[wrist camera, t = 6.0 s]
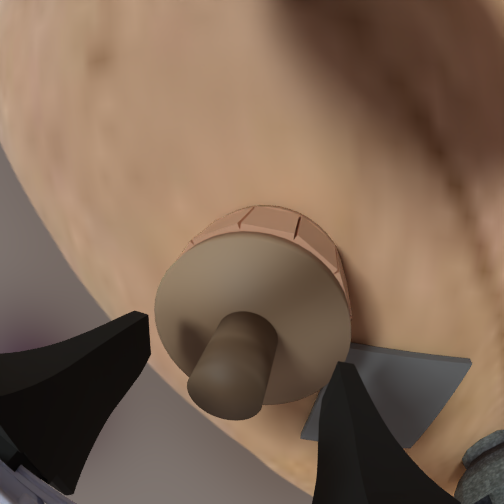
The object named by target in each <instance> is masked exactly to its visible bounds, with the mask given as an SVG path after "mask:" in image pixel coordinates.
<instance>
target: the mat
mask: <svg viewBox="0 0 504 504" xmlns="http://www.w3.org/2000/svg"><path fill="white" fill-rule="evenodd" d="M345 362H346V363H352V364H354V365H355V366H356V368H357V371H358V373H359V375H360V377H361V379H362V381H363V383H364V385H365V387H366V389H367V391H368V393H369V395H370V397H371V399H372V401H373V403H374V405H375V407H376V408H377V410H378V412H379V414H380V416H381V417H382V419H383V421H384V422H385V424H386V426H387V427H388V429H389V430H390V432H391V433H392V435H393V436H394V438H395V439H396V440H397V442H398V443H399V444H400V446H401V447H402V448H411V447H412V446H413V445H414V444H415V442H416V441H417V440H418V439H419V438H420V437H421V435H422V434H423V433H424V432H425V430H426V429H427V428H428V427H429V426H430V424H431V423H432V422H433V420H434V419H435V418H436V417H437V415H438V414H439V413H440V411H441V410H442V409H443V407H444V406H445V404H446V403H447V402H448V400H449V399H450V397H451V396H452V395H453V393H454V392H455V390H456V389H457V387H458V386H459V384H460V383H461V381H462V380H463V378H464V377H465V375H466V373H467V372H468V370H469V369H470V367H471V365H472V362H471V360H470V359H468V358H458V357H449V356H440V355H432V354H424V353H416V352H409V351H401V350H395V349H388V348H381V347H375V346H369V345H363V344H357V343H351V342H350V348H349V352H348V354H347V357H346V360H345ZM328 384H329V383H328ZM328 384H326V385H325V386H324V387H322V388H321V390H320V392H319V394H318V397H317V399H316V401H315V404H314V406H313V408H312V410H311V413H310V415H309V417H308V419H307V421H306V423H305V426H304V428H303V430H302V432H301V437H300V439H306V440H313V441H318V433H319V417H320V409H321V403H322V397H323V395H324V393H325V391H326V388H327V386H328Z"/></svg>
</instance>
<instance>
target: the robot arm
mask: <svg viewBox="0 0 504 504" xmlns="http://www.w3.org/2000/svg"><path fill="white" fill-rule="evenodd" d="M150 355H151V349H150V335H149V318H148V315H147V314H144V313H141V312H138V311H133V312H130V313H128V314H126V315H123V316H121V317H119V318H117V319H115V320H113V321H110V322H108V323H106V324H104V325H102V326H100V327H97V328H95V329H93V330H91V331H88V332H86V333H83V334H81V335H78V336H76V337H73V338H71V339H68V340H65V341H62V342H59V343H56V344H52V345H49V346H45V347H41V348H37V349H32V350H27V351H21V352H13V353H4V354H0V504H44V502H45V503H46V504H76V503H75V502H73V501H71V500H70V499H68V498H66V497H65V496H63V495H62V494H60V493H59V492H57V491H56V490H55V489H57V490H58V491H60V492H61V493H63V494H64V495H71V494H74V491H75V488H76V485H77V482H78V480H79V477H80V474H81V472H82V469H83V467H84V464H85V462H86V460H87V458H88V455H89V453H90V451H91V449H92V447H93V445H94V443H95V441H96V439H97V437H98V435H99V433H100V431H101V430H102V428H103V426H104V424H105V423H106V421H107V419H108V418H109V416H110V414H111V413H112V412H113V410H114V409H115V407H116V406H117V405H118V403H119V402H120V401H121V399H122V398H123V397H124V395H125V394H126V393H127V391H128V390H129V389H130V387H131V386H132V385H133V383H134V382H135V380H136V379H137V378H138V377H139V375H140V374H141V372H142V370H143V368H144V367H145V365H146V363H147V361H148V359H149V357H150ZM41 479H42V480H43V481H44V482H43V481H42V480H41ZM45 482H46V483H47V484H50V485H51V486H52V487H54V488H55V489H53V488H52V487H50V486H49V485H47V484H46V483H45ZM312 504H461V502H460V501H458V500H457V499H455V498H454V497H453V496H451V495H450V494H449V493H447V492H446V491H445V490H443V489H442V488H441V487H439V486H438V485H437V484H436V483H435V482H434V481H433V480H432V479H430V478H429V477H428V476H427V475H426V474H425V473H424V472H423V471H422V470H421V469H420V468H419V467H418V466H417V465H416V463H415V462H414V461H413V460H412V459H411V458H410V457H409V456H408V454H407V453H406V452H405V451H404V450H403V448H402V447H401V446H400V444H399V443H398V442H397V440H396V439H395V438H394V436H393V435H392V433H391V432H390V430H389V429H388V427H387V426H386V424H385V422H384V421H383V419H382V417H381V416H380V414H379V412H378V410H377V408H376V407H375V405H374V403H373V401H372V399H371V397H370V395H369V393H368V391H367V389H366V387H365V385H364V383H363V381H362V379H361V377H360V375H359V373H358V371H357V368H356V366H355V365H354V364H352V363H346V362H340V361H338V362H337V364H336V367H335V369H334V372H333V374H332V377H331V379H330V381H329V384H328V386H327V388H326V391H325V393H324V395H323V397H322V403H321V409H320V417H319V433H318V465H317V478H316V485H315V491H314V496H313V501H312Z"/></svg>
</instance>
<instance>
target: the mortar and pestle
mask: <svg viewBox="0 0 504 504" xmlns="http://www.w3.org/2000/svg"><path fill="white" fill-rule="evenodd" d="M462 461H463V464H464V466H465V468H466V469H467V470H466V471H465V473H464V474H463V476H462V477H461V479H460V480H459V482H458V485H457V488H456V491H455V494H454V498H455V499H457V500H458V501H460V502H461V504H504V430H498V431H496V432H494V433H492V434H490V435H488V436H486V437H484V438H482V439H480V440H479V441H478V442H477V443H475V444H474V445H473V446H472V447H471V448H469V449H468V450H467V451H466V453H465V455H464V457H463V458H462Z"/></svg>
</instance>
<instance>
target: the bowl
mask: <svg viewBox="0 0 504 504" xmlns="http://www.w3.org/2000/svg"><path fill="white" fill-rule="evenodd" d="M239 231H251V232H261V233H267V234H272V235H275V236H279V237H282V238H285V239H288V240H290V241H292V242H294V243H296V244H299V245H300V246H302V247H303V248H305V249H307V250H308V251H310V252H311V253H313V254H314V255H315V256H316V257H318V258H319V259H320V260H321V261H322V262H323V263H324V264H325V265H326V266H327V267H328V268H329V269H330V270H331V271H332V273H333V274H334V276H335V277H336V279H337V280H338V281H339V283H340V285H341V287H342V289H343V291H344V294H345V297H346V300H347V303H348V308H349V315H350V323H351V320H352V312H351V305H350V298H349V292H348V286H347V281H346V278H345V274H344V271H343V267H342V262H341V258H340V256H339V253H338V250H337V248H336V246H335V244H334V243H333V241H332V240H331V239H330V237H329V236H328V235H327V233H326V232H325V231H324V230H323V229H322V228H321V227H320V226H319V225H318V224H316V223H315V222H314V221H312V220H311V219H309V218H308V217H306V216H304V215H302V214H301V213H298V212H296V211H293V210H291V209H287V208H283V207H279V206H271V205H258V206H251V207H246V208H243V209H239V210H237V211H235V212H232V213H230V214H228V215H227V216H225V217H223V218H220V219H217V220H216V221H214V222H213V223H212V224H210V225H209V226H208V227H207V228H205V229H204V230H203V231H202V232H200V233H199V234H198V235H197V236H196V237H194V238H193V239H192V240H191V241H190V242H189V243H188V244H187V246H186V247H185V249H184V250H183V251H182V253H181V254H180V256H179V257H178V258H177V260H178V259H179V258H180V257H181V256H182V255H183V254H184V253H186V252H187V251H188V250H189V249H191V248H192V247H193V246H195V245H196V244H198V243H200V242H202V241H203V240H206V239H208V238H211V237H213V236H216V235H220V234H224V233H229V232H239ZM177 260H176V261H177Z"/></svg>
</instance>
